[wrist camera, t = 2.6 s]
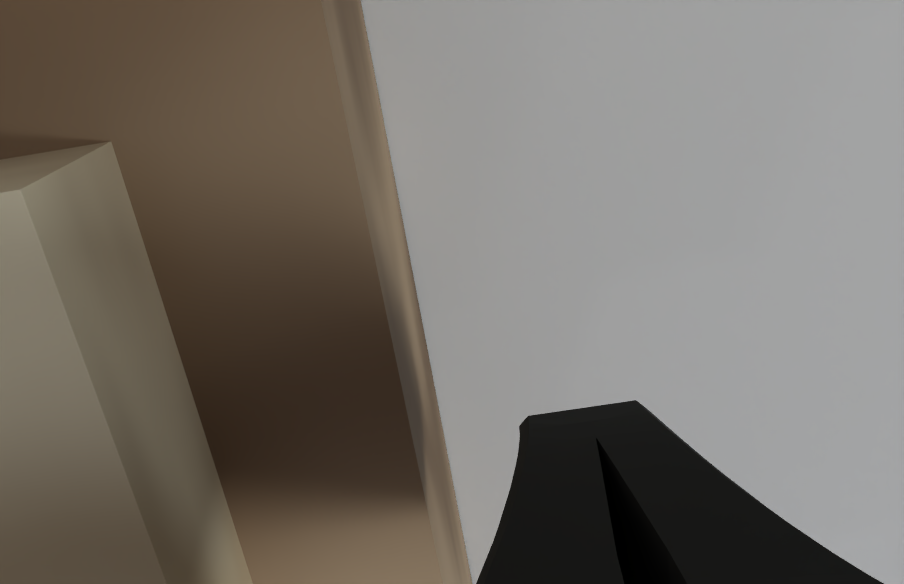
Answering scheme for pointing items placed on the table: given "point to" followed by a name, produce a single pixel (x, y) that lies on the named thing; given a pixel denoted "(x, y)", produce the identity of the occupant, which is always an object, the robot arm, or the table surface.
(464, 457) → the table surface
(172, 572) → the birch tile
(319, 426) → the walnut deck
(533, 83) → the table surface
